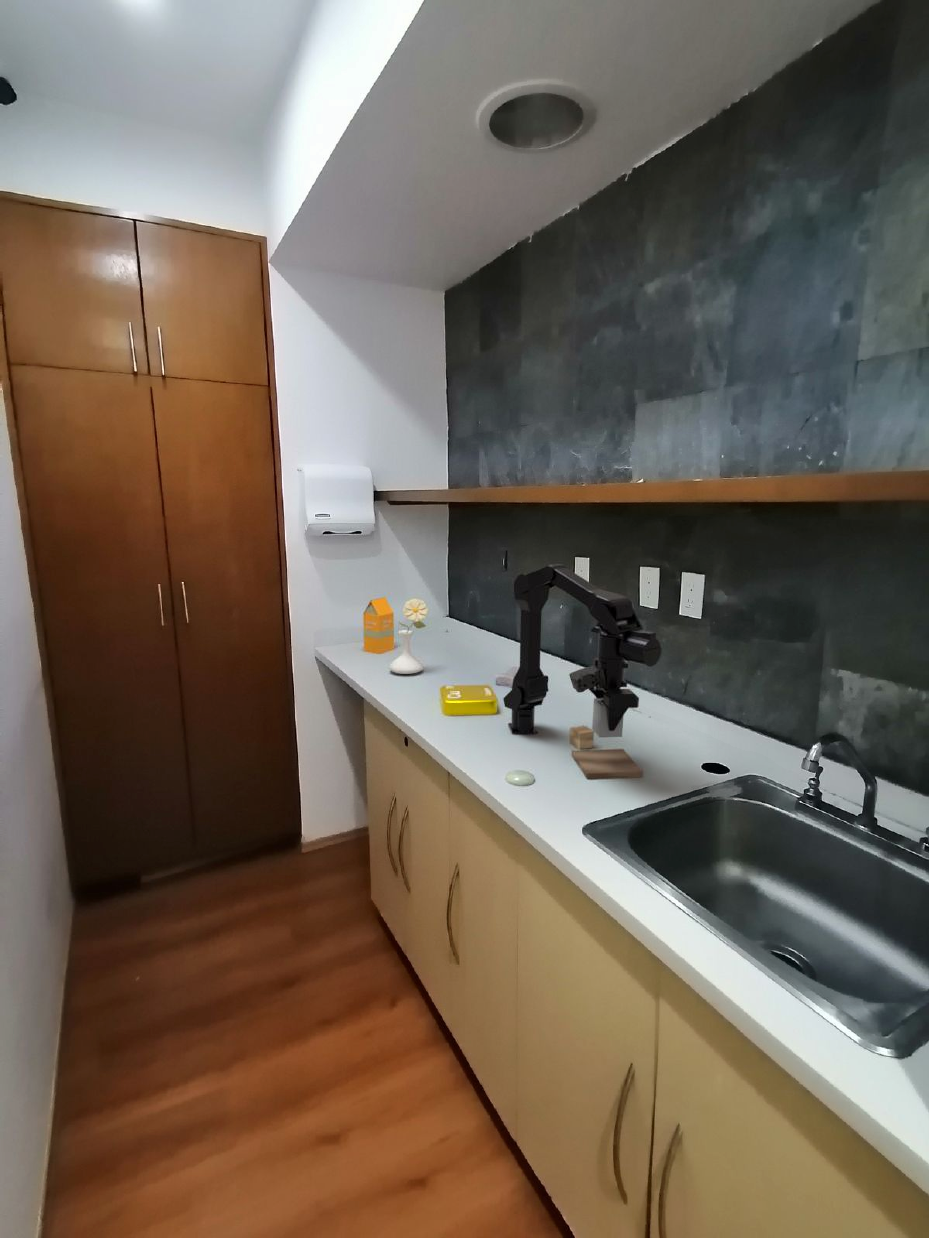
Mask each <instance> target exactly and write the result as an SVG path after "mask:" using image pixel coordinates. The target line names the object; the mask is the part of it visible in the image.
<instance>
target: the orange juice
mask: <svg viewBox="0 0 929 1238" xmlns="http://www.w3.org/2000/svg"><path fill="white" fill-rule="evenodd" d="M362 617H363V618H362V621H363V625H362V626H363V630H362V631H363V652H365V653H371V654H375V655H381V654H384V653H388V652H390V651H394V650H395V638H394V637H395V627H394V624H395V623H394V621H395V619H394V611H393V609H392V608H391V606H390V604H389V603H388V600H387V598H386V597H384V596H383V597H381V598H380V597H379V598H375V599H371V600H370V601H369V603H368V605H367V606H366V608H365V610H364V612H363V615H362Z"/></svg>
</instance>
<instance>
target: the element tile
mask: <svg viewBox="0 0 929 1238" xmlns="http://www.w3.org/2000/svg"><path fill="white" fill-rule="evenodd" d="M439 702H440V708H441V713H442V714H443V715H444V716H448V717H452V716H455V717H456V716H457V717H458V716H460V717H461V716H487V715H488V716H493V715H496V714H498V697H497V696H496V694H495V691H494V689H493V687H492V686H491V685H489V684H466V685H465V684H464V685H463V684H462V685H461V684H460V685H459V684H458V685H442V686H440V688H439Z"/></svg>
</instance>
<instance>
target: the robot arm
mask: <svg viewBox="0 0 929 1238" xmlns="http://www.w3.org/2000/svg"><path fill="white" fill-rule="evenodd" d="M555 587H556V588H558V589H559V590H561V591H562V592H564V593H566V594H567V595H569V596H570V597H572V598H573V599H575V600H576V601H578V602H579V603H580V604H581V605H583V606H585V607H586V608H587V610H588V613H589V615H590V617H592V618H593V619H594V620H595V621H596V622H597V624H596V625H594V626H593V627H592V628H591V629H590V632H591V633H595V634H598V643H597V644H598V646H597V657H594V659H593V660H592V665H590V666H586V667H583V668H580V669H577V670H575V671H572V672H570V673H569V674H568V676H569V678H570V682H571V684H572V688H573V689H574V690H575V692H577V693H584V692H585V691H587V690H589V691H590V692H591V693H592V694H593V695H594V698H604V700H602V701H601V703H602V704H603V705H604V706H605V707H606V708H607V719H608V728H609V731H614V730H615V729H616V727H617V725H618V724H619V722H620V720H621V719H622V717H623V718H624V715H625V714H626V713H627V711H628V710H629V709H635V708H636V709H637V708H639V703H640V702H639V701H640V697H639V696H638V695H637V694H635V693H634V692H633V690H631V689H630V688H627V687H628V682H627V681H626V680H625V669H628V668H629V662H630V663H633V664H639V665H641V666H645V667H650V668H651V667H654V666H656V664H657V663H658V662H659V660H660V658H661V655H662V647H661V643H660V641H659V640H658V639H657V638H656V636H657V633H656V632H654V631H645V630H644V627H643V626H642V624H641V621H640V619H639V618H638V616H637V614H636V612H635V610H634V608H633V602H632V601H631V600H630V599H629V597H626V596H624V595H622V594H619V593H616V592H611V591H608V590H603V589H601V588H599V587H598V586H596V585H595V584H592V583H591V582H589V581H588V580H586V579H585V578H583V577H582V576H579V575H578V574H577V573H575V572H573V571H572V570H570V569H568V567H567V566H566V565H565V564H561V563H558V564H557V563H555V564H547V565H546V566H544V567H543V568H540V569H538V570H535V571H532V572H529V573H520V574H519V575H517V576H516V578H515V579H514V580H513V593H514V600H515V602H516V604H517V606H518V607H519V609H520V637H519V639H520V640H519V641H520V643H519V666H518V667H519V669H518V671H517V673H516V675H515V677H514V678H513V685H512V688H511V690H510V691H509V692H508V693H507V694H506V695H505V696H504V697H503V703H504V704H503V705H504V707H505V708H507V709H510V710H511V722H508V724H507V726H508V728H509V729H510V732H511V734H513V735H517V734H522V735H524V734H538V728H536V726H535V711H536V710H535V709H536V708H535V707H538V706H542V705H543V702H544V699H545V698H546V696H547V694H548V693H549V676H548V675H545V674H544V672H543V671H542V669H541V646H542V645H541V644H542V642H541V640H542V638H541V637H542V613H543V612H542V610H544V609H543V608H544V607H545V604H546V603H547V601H548V600H549V595H550V590H551V589H552V588H555Z"/></svg>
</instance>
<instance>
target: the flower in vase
mask: <svg viewBox="0 0 929 1238" xmlns="http://www.w3.org/2000/svg"><path fill="white" fill-rule="evenodd" d="M428 611H429V608H428V607H427V604H425V601H424V600H421V599H419V598H418V599H417V598H415V597H414V598H413V599H409V600H408V601H405V604H404V607H403V611H402V613H403V614H404V616H405V618H406V619H407V620H409V621H411V622H412V623H411V625H410V626H408V625H406V624H405V623H401V621H398V624H399V625H400V626H402V627H406V628H408V629H405V630H403V629H402V630H399V631H398V633H399V635H400V638H401V641H402V653H401V654H400V655H399V656H398V657H396V659H394V660H393V661H392V662H391V663H390V665H389V667H388V668H389V670H390V671H391V672H393V673H395V674H399V675H400V674H402V675H408V674H409V675H411V674H416V673H419V672H422V670H423V669H424V664H423V663H422V662H421V661H420V660H419V659H417V657H415V656H414V655H412V653H411V648H410V646H411V645H410V644H411V638H412V636H413V634H414V633H415V632H414V630H410V629H411V628H412V626H414V627H415V628H416V629H422V628H425V627H426V624H425V623H423V621H422V620H424V619H426V617H427V615H428Z"/></svg>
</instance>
